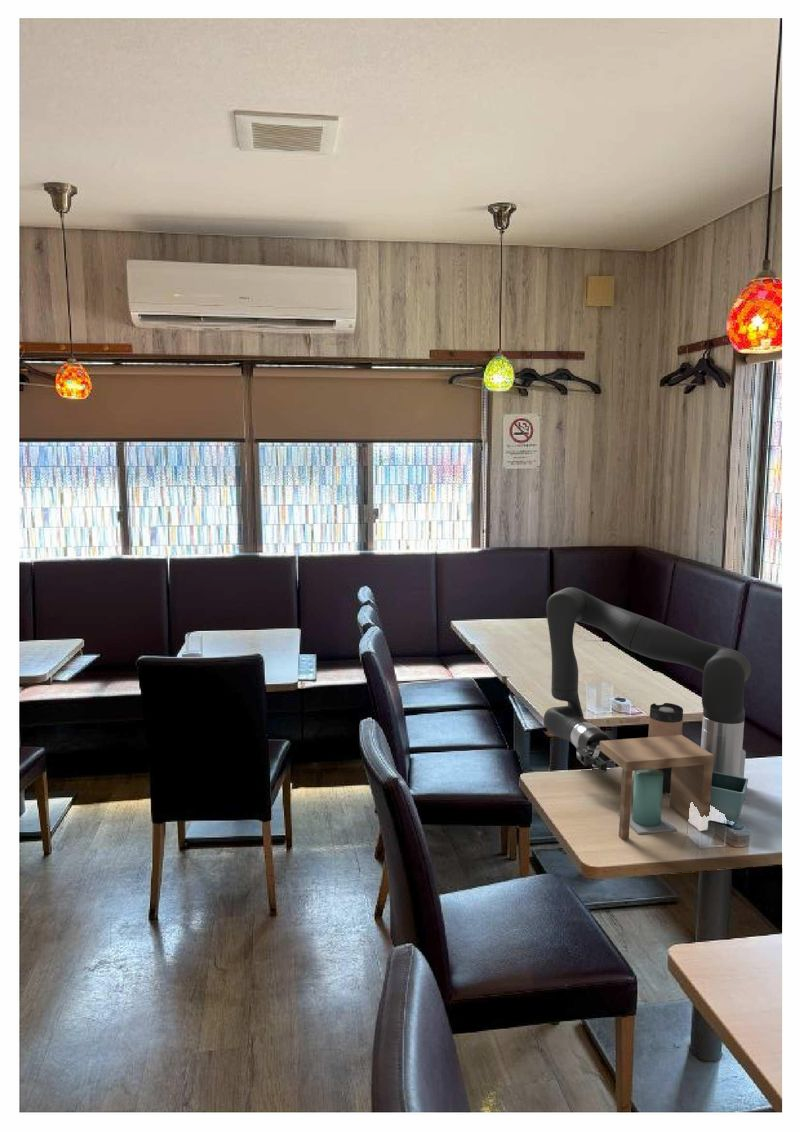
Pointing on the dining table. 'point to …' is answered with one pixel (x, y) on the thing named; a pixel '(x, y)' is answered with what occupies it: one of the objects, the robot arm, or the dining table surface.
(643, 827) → the mat
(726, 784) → the flower pot
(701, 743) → the robot arm
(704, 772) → the brown wooden shelf stand
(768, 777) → the dining table surface
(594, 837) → the dining table surface
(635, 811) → the teal glossy cylinder
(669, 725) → the travel mug
